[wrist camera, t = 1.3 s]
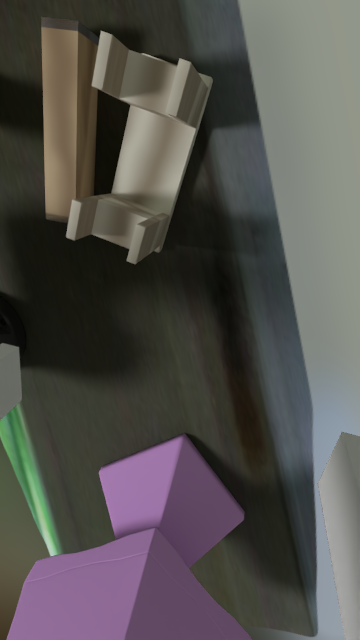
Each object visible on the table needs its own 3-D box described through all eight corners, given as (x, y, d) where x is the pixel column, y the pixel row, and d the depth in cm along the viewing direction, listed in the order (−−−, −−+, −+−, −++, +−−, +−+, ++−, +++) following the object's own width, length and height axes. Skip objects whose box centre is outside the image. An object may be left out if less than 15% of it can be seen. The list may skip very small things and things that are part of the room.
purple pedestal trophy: (92, 462, 66) (-169, 915, 26) (186, 424, 58) (11, 1014, 17) (159, 539, 71) (25, 1021, 31) (255, 514, 63) (241, 1140, 22)
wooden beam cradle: (107, 229, 47) (64, 246, 37) (146, 56, 38) (103, 15, 28) (161, 250, 47) (132, 273, 36) (213, 80, 38) (194, 47, 28)
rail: (66, 214, 48) (45, 219, 43) (66, 34, 39) (41, 17, 35) (93, 219, 47) (75, 225, 43) (99, 38, 39) (78, 21, 34)
